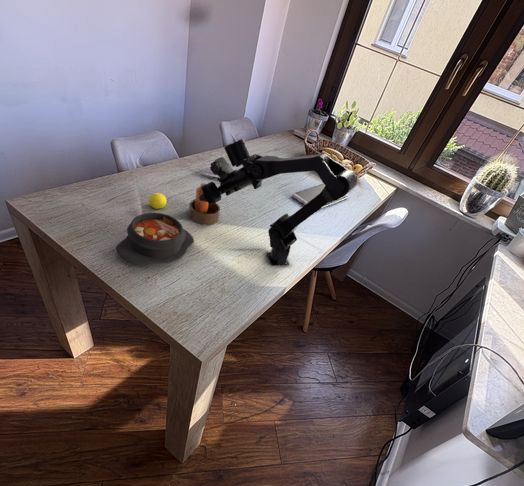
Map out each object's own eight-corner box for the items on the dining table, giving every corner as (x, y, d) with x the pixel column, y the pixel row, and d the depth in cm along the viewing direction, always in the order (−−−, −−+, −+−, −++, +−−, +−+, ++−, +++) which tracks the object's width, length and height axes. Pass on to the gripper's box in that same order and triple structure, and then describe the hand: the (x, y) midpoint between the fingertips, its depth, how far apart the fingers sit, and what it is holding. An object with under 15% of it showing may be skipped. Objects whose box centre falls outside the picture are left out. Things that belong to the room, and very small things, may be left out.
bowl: (221, 226, 130) (223, 215, 127) (191, 225, 126) (192, 214, 123) (214, 209, 137) (216, 198, 134) (185, 208, 133) (186, 197, 130)
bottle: (208, 218, 131) (212, 189, 123) (195, 217, 129) (198, 188, 121) (205, 210, 134) (209, 181, 126) (192, 210, 132) (195, 181, 124)
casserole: (167, 222, 125) (168, 200, 119) (206, 250, 119) (209, 228, 113) (102, 247, 108) (99, 223, 102) (143, 281, 102) (143, 258, 96)
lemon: (153, 213, 126) (154, 200, 122) (144, 205, 128) (144, 192, 125) (170, 209, 131) (171, 195, 127) (161, 201, 133) (161, 188, 129)
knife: (195, 177, 151) (253, 187, 157) (195, 171, 149) (254, 181, 155) (195, 168, 157) (252, 178, 162) (196, 162, 155) (253, 173, 160)
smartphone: (290, 196, 159) (292, 193, 158) (326, 185, 176) (327, 181, 174) (313, 212, 154) (315, 208, 152) (347, 198, 170) (349, 195, 169)
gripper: (245, 147, 119) (213, 165, 129) (210, 161, 106) (178, 179, 116) (259, 180, 122) (227, 195, 133) (227, 197, 110) (195, 212, 120)
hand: (208, 194), depth 125 cm, fingers open, 9 cm apart
